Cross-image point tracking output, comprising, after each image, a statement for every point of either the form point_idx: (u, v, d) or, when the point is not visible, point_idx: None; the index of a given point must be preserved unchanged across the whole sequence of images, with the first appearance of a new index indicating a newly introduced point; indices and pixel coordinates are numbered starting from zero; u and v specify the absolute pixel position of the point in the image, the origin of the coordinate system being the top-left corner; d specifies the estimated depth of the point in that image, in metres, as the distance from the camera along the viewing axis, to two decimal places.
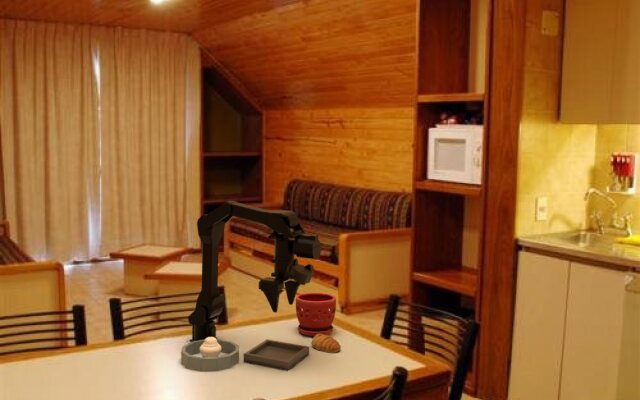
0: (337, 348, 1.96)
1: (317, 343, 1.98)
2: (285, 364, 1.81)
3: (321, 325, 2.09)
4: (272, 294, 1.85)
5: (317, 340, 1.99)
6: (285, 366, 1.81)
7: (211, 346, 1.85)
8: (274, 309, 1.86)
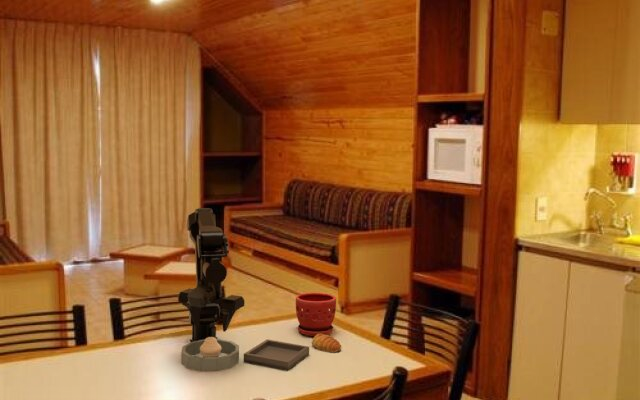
0: (338, 348, 1.97)
1: (318, 343, 1.98)
2: (285, 364, 1.81)
3: (321, 325, 2.09)
4: None
5: (317, 340, 1.99)
6: (285, 366, 1.81)
7: (211, 346, 1.85)
8: None
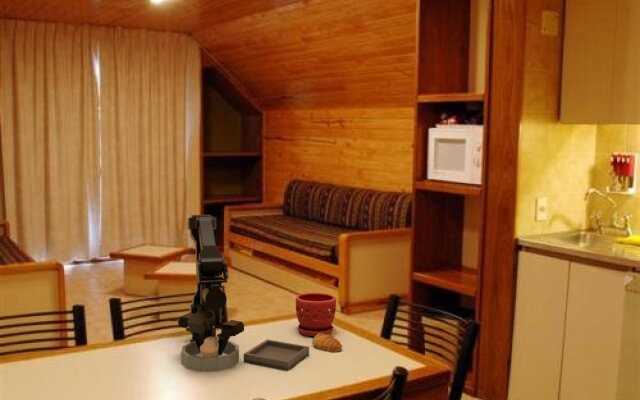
0: (338, 347, 1.97)
1: (319, 343, 1.99)
2: (285, 364, 1.81)
3: (321, 325, 2.09)
4: None
5: (318, 340, 1.99)
6: (285, 366, 1.81)
7: (211, 346, 1.85)
8: None
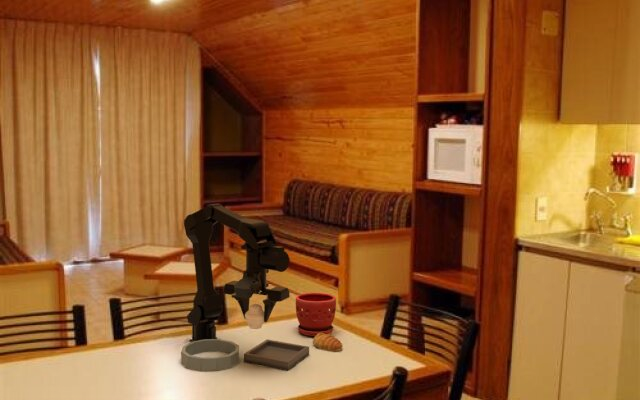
0: (339, 347, 1.97)
1: (319, 342, 1.99)
2: (285, 364, 1.81)
3: (321, 325, 2.09)
4: None
5: (318, 339, 2.00)
6: (285, 366, 1.81)
7: (257, 313, 1.85)
8: None
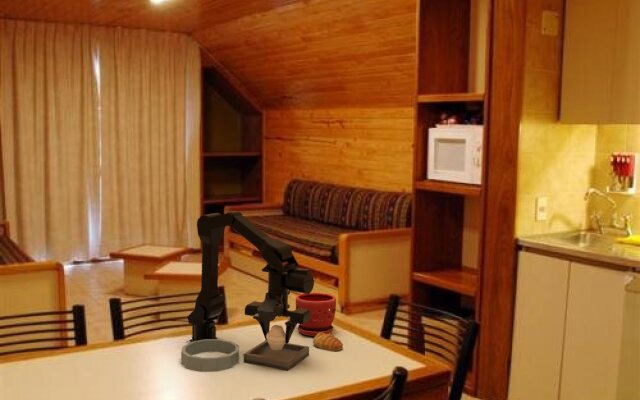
0: (340, 346, 1.98)
1: (320, 342, 1.99)
2: (285, 364, 1.81)
3: (321, 325, 2.09)
4: None
5: (319, 339, 2.00)
6: (285, 366, 1.81)
7: (278, 334, 1.87)
8: None
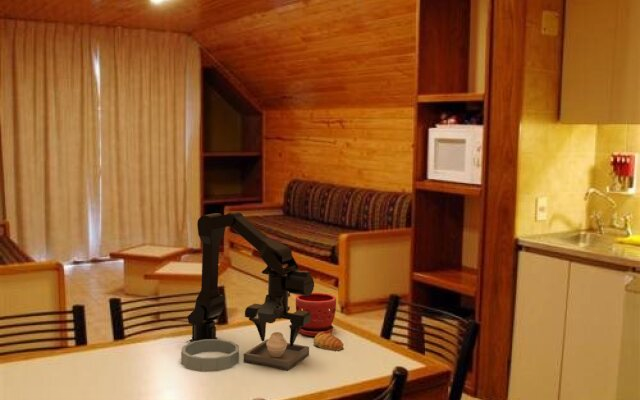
0: (340, 346, 1.98)
1: (320, 341, 2.00)
2: (285, 364, 1.81)
3: (321, 325, 2.09)
4: None
5: (319, 339, 2.00)
6: (285, 366, 1.81)
7: (278, 341, 1.87)
8: None
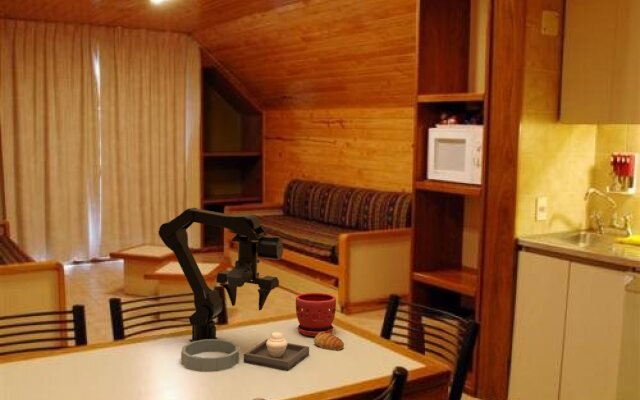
0: (341, 345, 1.99)
1: (321, 341, 2.00)
2: (285, 364, 1.81)
3: (321, 325, 2.09)
4: None
5: (320, 338, 2.01)
6: (285, 366, 1.81)
7: (278, 341, 1.87)
8: None
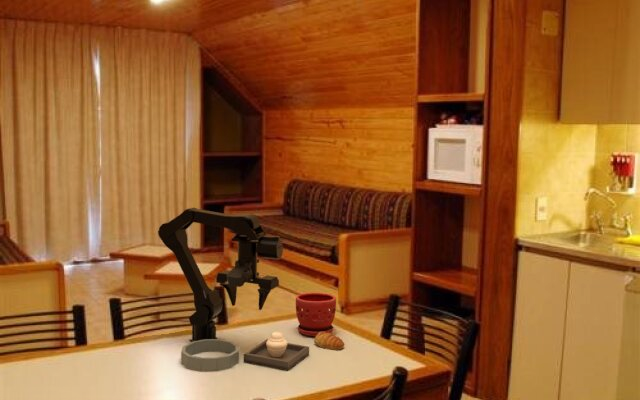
0: (341, 345, 1.99)
1: (321, 341, 2.00)
2: (285, 364, 1.81)
3: (321, 325, 2.09)
4: None
5: (320, 338, 2.01)
6: (285, 366, 1.81)
7: (278, 341, 1.87)
8: None
